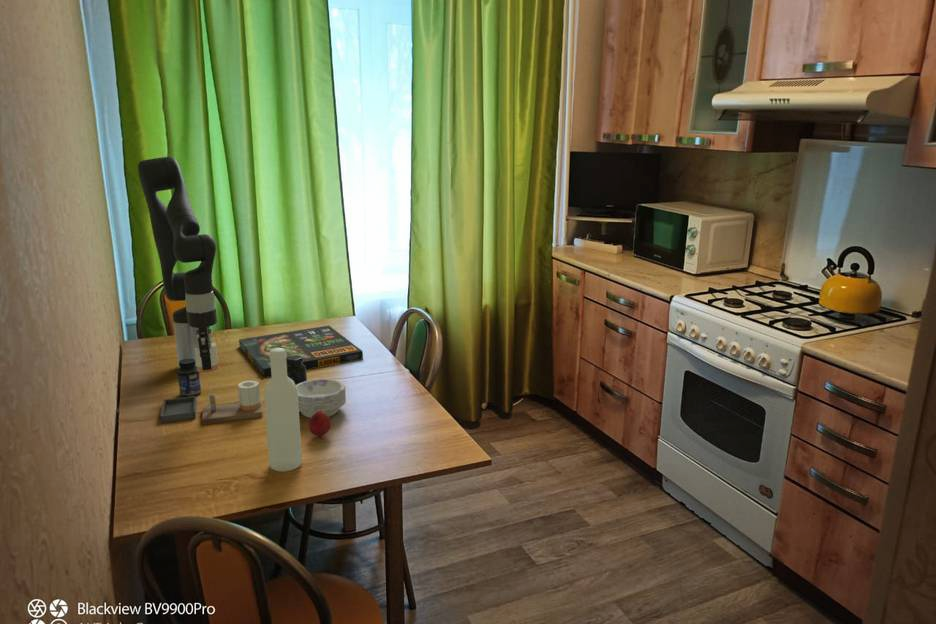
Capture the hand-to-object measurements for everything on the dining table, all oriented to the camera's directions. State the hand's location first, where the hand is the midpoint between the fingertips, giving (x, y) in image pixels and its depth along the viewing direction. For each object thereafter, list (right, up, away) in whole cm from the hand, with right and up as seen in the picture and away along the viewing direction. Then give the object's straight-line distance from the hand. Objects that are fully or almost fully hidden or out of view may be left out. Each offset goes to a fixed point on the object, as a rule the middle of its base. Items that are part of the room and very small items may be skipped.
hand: (207, 365), depth 185 cm
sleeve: (0, -1, 0) cm, 1 cm away
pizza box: (+12, -1, +57) cm, 58 cm away
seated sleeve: (+10, -13, +7) cm, 18 cm away
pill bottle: (-13, -11, +20) cm, 26 cm away
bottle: (+28, -23, -21) cm, 42 cm away
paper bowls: (+30, -14, +8) cm, 34 cm away
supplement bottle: (+20, -11, +21) cm, 30 cm away
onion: (+33, -19, -7) cm, 39 cm away
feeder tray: (-11, -14, +7) cm, 19 cm away
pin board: (+5, -14, +6) cm, 16 cm away
